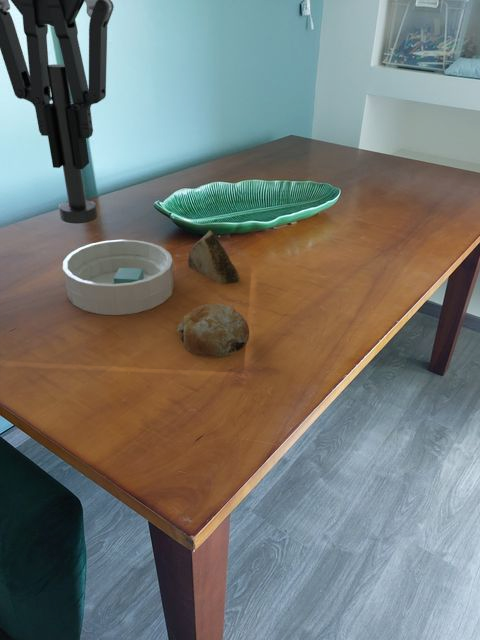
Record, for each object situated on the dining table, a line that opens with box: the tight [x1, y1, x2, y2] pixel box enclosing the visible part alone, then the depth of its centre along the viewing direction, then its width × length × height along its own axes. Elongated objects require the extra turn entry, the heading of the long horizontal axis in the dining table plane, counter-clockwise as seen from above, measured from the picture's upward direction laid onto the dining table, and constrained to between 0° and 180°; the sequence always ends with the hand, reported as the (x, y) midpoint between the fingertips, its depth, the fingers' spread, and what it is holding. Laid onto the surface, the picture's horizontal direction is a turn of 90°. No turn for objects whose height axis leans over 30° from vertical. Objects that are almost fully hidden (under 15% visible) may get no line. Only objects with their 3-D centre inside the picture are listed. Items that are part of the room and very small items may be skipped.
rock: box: [187, 230, 241, 285], centre depth 97 cm, size 11×9×10 cm
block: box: [114, 268, 144, 284], centre depth 89 cm, size 4×4×4 cm
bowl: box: [62, 239, 175, 316], centre depth 91 cm, size 18×18×6 cm
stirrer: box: [47, 64, 98, 225], centre depth 62 cm, size 4×4×17 cm
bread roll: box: [177, 303, 250, 359], centre depth 79 cm, size 10×10×8 cm
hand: (71, 164), depth 64 cm, fingers closed on stirrer, 2 cm apart
